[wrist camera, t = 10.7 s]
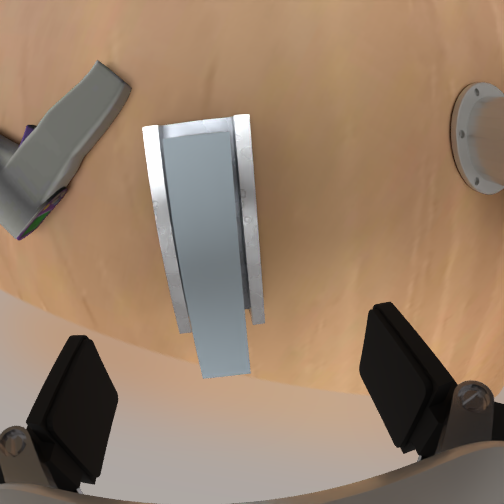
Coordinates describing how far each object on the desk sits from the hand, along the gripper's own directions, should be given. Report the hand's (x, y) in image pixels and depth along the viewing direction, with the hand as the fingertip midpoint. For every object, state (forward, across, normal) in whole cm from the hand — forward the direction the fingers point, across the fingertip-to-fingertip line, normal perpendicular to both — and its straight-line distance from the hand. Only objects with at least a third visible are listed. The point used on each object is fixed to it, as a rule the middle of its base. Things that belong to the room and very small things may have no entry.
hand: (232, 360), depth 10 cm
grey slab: (+16, +1, 0) cm, 16 cm away
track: (+16, +1, 0) cm, 17 cm away
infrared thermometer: (+17, +15, -10) cm, 25 cm away
